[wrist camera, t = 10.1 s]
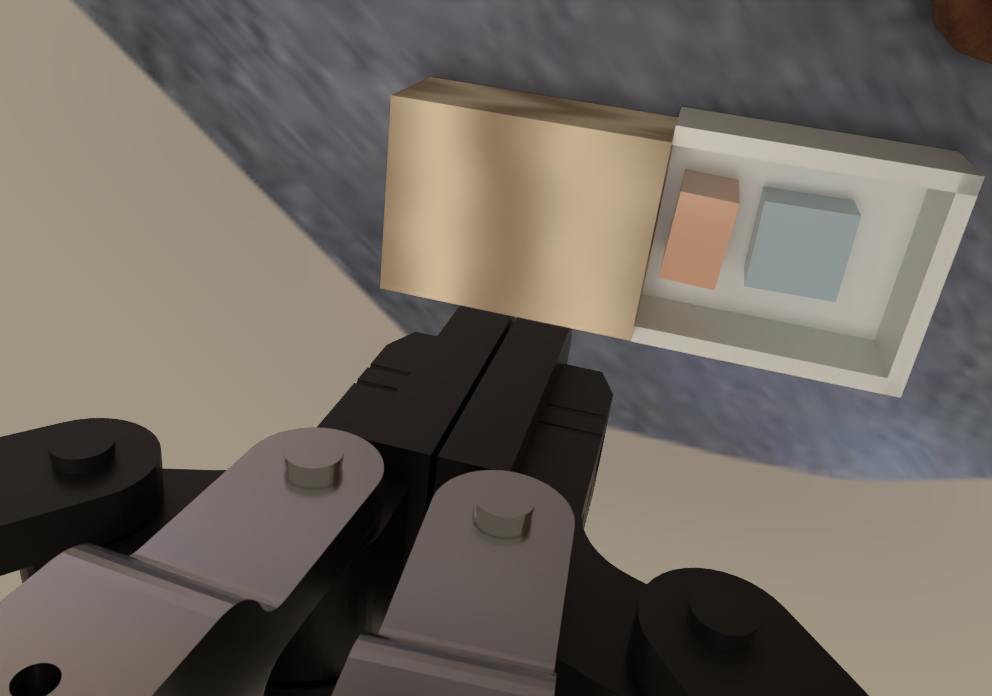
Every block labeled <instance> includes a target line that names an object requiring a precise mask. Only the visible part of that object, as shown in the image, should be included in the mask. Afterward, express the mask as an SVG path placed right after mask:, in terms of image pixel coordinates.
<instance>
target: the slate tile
mask: <svg viewBox="0 0 992 696" xmlns="http://www.w3.org/2000/svg"><path fill="white" fill-rule="evenodd" d="M860 218H861V215H860V213H859V210H858V208H857V206H856V204H855V202H854V200H848V199H842V198H835V197H829V196H822V195H816V194H809V193H803V192H796V191H789V190H783V189H776V188H770V187H763V189H762V194H761V198H760V202H759V206H758V210H757V215H756V219H755V223H754V227H753V231H752V236H751V240H750V244H749V248H748V252H747V257H746V261H745V265H744V286H746V287H752V288H757V289H763V290H769V291H775V292H780V293H786V294H792V295H798V296H803V297H809V298H815V299H820V300H826V301H832V302H836V300H837V296H838V293H839V289H840V286H841V283H842V279H843V276H844V273H845V269H846V266H847V262H848V259H849V256H850V252H851V249H852V245H853V242H854V239H855V235H856V232H857V229H858V225H859V222H860Z"/></svg>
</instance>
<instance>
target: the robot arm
mask: <svg viewBox="0 0 992 696" xmlns="http://www.w3.org/2000/svg"><path fill="white" fill-rule="evenodd" d="M571 333H572V329H571V328H567V327H563V326H558V325H553V324H548V323H543V322H539V321H534V320H529V319H524V318H520V317H517V318H516V320H515V317H514V316H509V315H504V314H500V313H495V312H490V311H485V310H481V309H476V308H471V307H466V306H460V307H459V308H458V309H457V310H456V312H455V313H454V314H453V316H452V317H451V318H450V320H449V321H448V323H447V324H446V325H445V327H444V328H443V329H442V331H441V332H440V333H439V335H438V336H432V335H428V334H423V333H418V332H414V333H412V334H410V335H408V336H405V337H403V338H401V339H399V340H397V341H394V342H392V343H390V344H388V345H386V347H385V348H384V349H383V350H382V351H381V352H380V354H379V355H378V356H377V357H376V358H375V359H374V361H373V362H372V363H371V366H370V368H367V369H366V370H365V371H364V373H363V374H362V375H361V376H360V377H359V378H358V381H357V384H355V383H354V384H353V385H352V386H351V388H350V389H349V390H348V391H347V392H346V394H345V395H344V396H343V397H342V398H341V399H340V401H339V402H338V403H337V404H336V405H335V407H334V408H333V409H332V410H331V411H330V412H329V414H328V415H327V416H326V417H325V418H324V419H323V421H322V422H321V423H320V424H319V425H318V427H317V428H313V427H312V428H299V429H293V430H288V431H284V432H281V433H277V434H275V435H272V436H269V437H267V438H266V439H264V440H262V441H260V442H259V443H257V444H256V445H255V446H253V447H252V448H251V449H250V450H249V451H248V452H247V453H245V454H244V455H243V456H242V457H241V458H240V459H239V460H238V461H237V462H235V463H234V464H233V465H232V466H231V467H230V468H229V469H228V470H188V469H162V457H161V448H160V443H159V441H158V439H157V437H156V436H155V435H154V434H153V433H152V432H151V431H149V430H147V429H146V428H144V427H142V426H140V425H138V424H135V423H132V422H128V421H124V420H118V419H109V418H89V419H80V420H73V421H68V422H63V423H59V424H54V425H50V426H46V427H41V428H37V429H33V430H28V431H25V432H20V433H16V434H12V435H7V436H3V437H0V576H1V575H5V574H7V573H11V572H14V571H17V570H20V574H21V580H22V584H21V585H20V586H19V587H18V588H16V589H15V590H14V591H13V592H12V593H10V594H9V595H8V596H6V597H5V598H4V599H3V600H1V601H0V696H869V695H868V694H867V693H866V692H865V691H864V690H863V689H862V688H861V687H860V686H859V685H858V684H857V683H856V682H855V681H854V680H853V679H852V677H851V676H850V675H849V674H848V673H847V672H846V671H845V670H844V669H843V668H842V667H841V666H840V665H839V664H838V663H837V662H836V661H835V660H834V659H833V658H832V657H831V656H830V655H829V654H828V652H827V651H826V650H825V649H824V648H823V647H822V646H821V645H820V644H819V643H818V642H817V641H816V640H815V639H814V638H813V637H812V636H811V635H810V634H809V633H808V632H807V631H806V630H805V629H804V627H803V626H802V625H801V624H800V623H799V622H798V621H797V620H796V619H795V618H794V617H793V616H792V615H791V614H790V613H789V612H788V611H787V610H786V609H785V608H784V607H783V606H782V605H781V604H780V603H779V602H778V601H777V600H776V599H774V597H772V596H771V595H769V594H768V593H767V592H765V591H764V590H763V589H760V588H759V587H757V586H756V585H754V584H752V583H750V582H748V581H746V580H744V579H742V578H739V577H737V576H734V575H731V574H728V573H725V572H721V571H716V570H712V569H703V568H683V569H676V570H672V571H669V572H666V573H663V574H661V575H659V576H658V577H655V578H654V579H653V580H651V581H650V582H649V583H648V584H645V583H643V582H641V581H639V580H637V579H635V578H634V577H631V576H630V575H628V574H626V573H624V572H623V571H621V570H619V569H618V568H616V567H615V566H613V565H612V564H611V563H609V562H608V561H607V560H606V559H604V557H603V556H601V555H600V554H599V553H598V552H597V550H596V549H595V548H594V547H593V546H592V544H591V543H590V541H589V539H588V538H587V536H586V534H585V531H584V527H585V522H586V518H587V515H588V511H589V506H590V503H591V499H592V495H593V491H594V486H595V481H596V476H597V471H598V466H599V461H600V457H601V452H602V447H603V442H604V437H605V432H606V427H607V422H608V417H609V412H610V407H611V402H612V397H613V393H612V391H611V389H610V387H609V385H608V383H607V381H606V379H605V377H604V375H603V373H602V372H599V371H595V370H590V369H585V368H581V367H576V366H572V365H567V361H568V355H569V349H570V343H571Z"/></svg>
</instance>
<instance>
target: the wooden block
mask: <svg viewBox="0 0 992 696" xmlns="http://www.w3.org/2000/svg"><path fill="white" fill-rule="evenodd" d="M677 120H678V117H673V116H667V115H660V114H654V113H648V112H642V111H636V110H630V109H624V108H618V107H612V106H606V105H599V104H593V103H587V102H581V101H575V100H569V99H563V98H557V97H551V96H545V95H538V94H532V93H526V92H520V91H514V90H508V89H502V88H496V87H490V86H484V85H477V84H471V83H465V82H459V81H453V80H447V79H441V78H435V77H430V78H427V79H425V80H423V81H421V82H419V83H417V84H414V85H412V86H410V87H408V88H406V89H404V90H401V91H399V92H397V93H395V94H393V95H391V106H390V123H389V141H388V159H387V177H386V195H385V212H384V230H383V248H382V266H381V283H380V288H381V289H386V290H391V291H395V292H400V293H405V294H410V295H414V296H419V297H424V298H429V299H434V300H438V301H443V302H448V303H453V304H457V305H462V306H467V307H472V308H477V309H481V310H486V311H491V312H496V313H500V314H505V315H510V316H515V317H520V318H524V319H529V320H534V321H539V322H543V323H548V324H553V325H558V326H563V327H567V328H572V329H577V330H582V331H587V332H591V333H596V334H601V335H606V336H610V337H615V338H620V339H625V340H630V341H631V338H632V334H633V329H634V325H635V321H636V317H637V313H638V309H639V305H640V301H641V298H642V293H643V289H644V284H645V279H646V274H647V269H648V265H649V260H650V255H651V250H652V245H653V241H654V236H655V231H656V226H657V221H658V217H659V212H660V207H661V202H662V197H663V193H664V188H665V183H666V178H667V173H668V169H669V164H670V159H671V154H672V149H673V145H672V141H673V136H674V132H675V127H676V123H677Z"/></svg>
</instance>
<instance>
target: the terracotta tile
mask: <svg viewBox="0 0 992 696" xmlns="http://www.w3.org/2000/svg"><path fill="white" fill-rule="evenodd" d="M739 205H740V190H739V180H736V179H731V178H726V177H721V176H717V175H712V174H707V173H703V172H698V171H693V170H688V169H685V172H684V176H683V180H682V184H681V188H680V192H679V196H678V199H677V203H676V207H675V211H674V215H673V219H672V223H671V227H670V231H669V234H668V238H667V242H666V246H665V250H664V255H663V259H662V264H661V268H660V273H659V278H663V279H667V280H672V281H676V282H680V283H685V284H689V285H693V286H697V287H702V288H706V289H710V290H715V287H716V284H717V280H718V277H719V273H720V270H721V267H722V263H723V260H724V256H725V253H726V249H727V246H728V243H729V239H730V236H731V232H732V229H733V226H734V222H735V219H736V215H737V212H738V208H739Z"/></svg>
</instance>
